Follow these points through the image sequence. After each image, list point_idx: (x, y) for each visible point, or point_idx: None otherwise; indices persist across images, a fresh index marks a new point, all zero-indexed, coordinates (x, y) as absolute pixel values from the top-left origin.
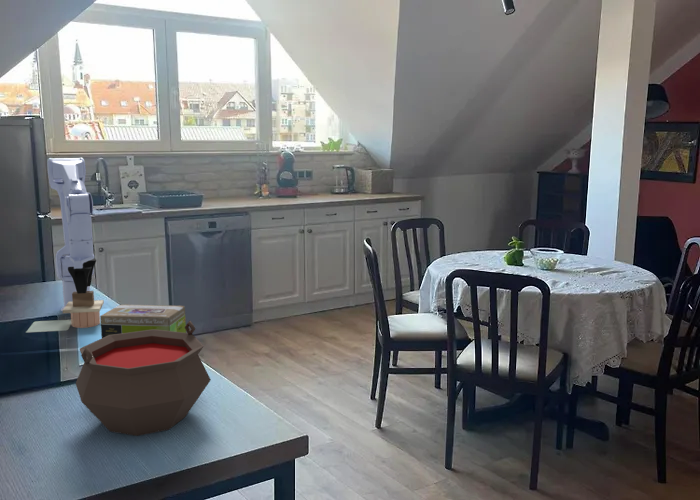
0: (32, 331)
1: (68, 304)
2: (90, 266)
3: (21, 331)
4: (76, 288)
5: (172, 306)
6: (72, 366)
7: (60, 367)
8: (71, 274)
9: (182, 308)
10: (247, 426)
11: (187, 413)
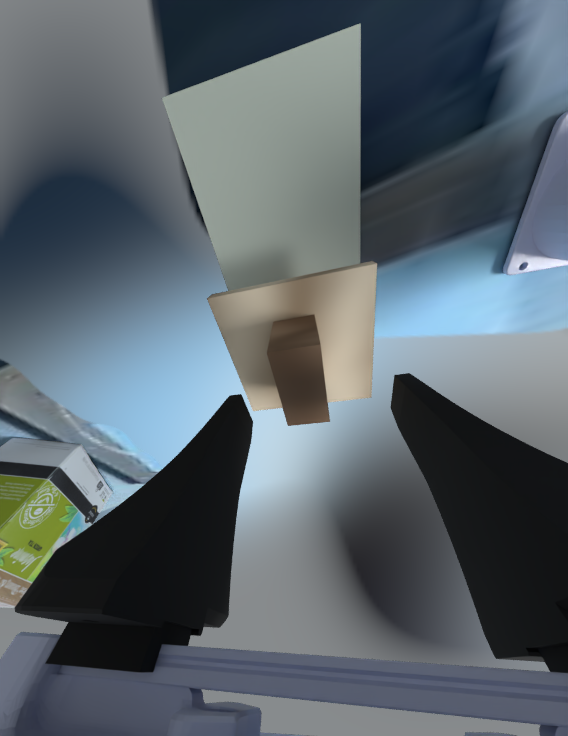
0: (185, 135)
1: (314, 286)
2: (468, 558)
3: (211, 23)
4: (215, 416)
5: (14, 606)
6: (27, 382)
7: (6, 365)
8: (111, 518)
9: None
10: None
11: None
